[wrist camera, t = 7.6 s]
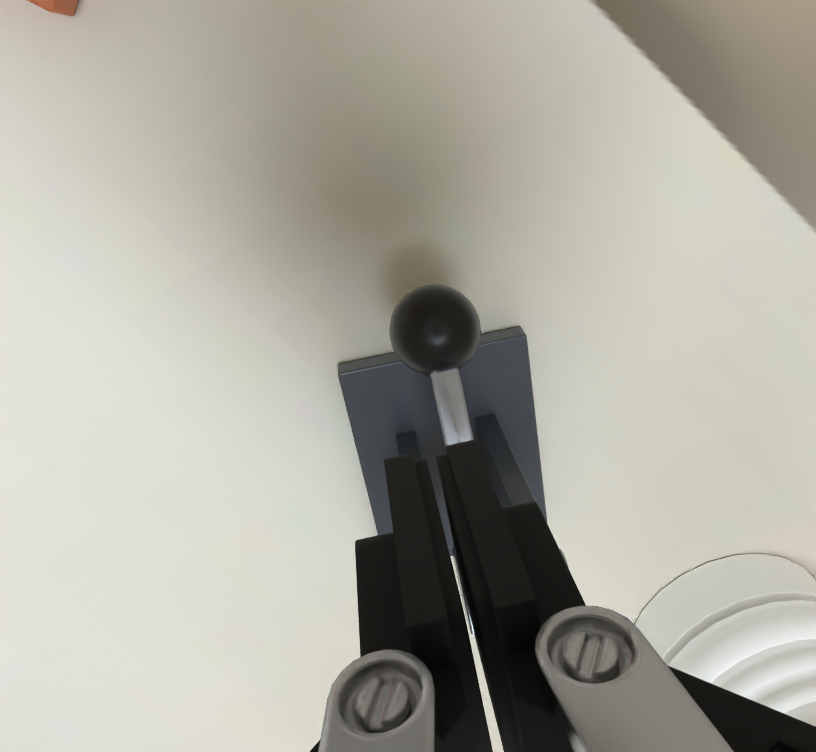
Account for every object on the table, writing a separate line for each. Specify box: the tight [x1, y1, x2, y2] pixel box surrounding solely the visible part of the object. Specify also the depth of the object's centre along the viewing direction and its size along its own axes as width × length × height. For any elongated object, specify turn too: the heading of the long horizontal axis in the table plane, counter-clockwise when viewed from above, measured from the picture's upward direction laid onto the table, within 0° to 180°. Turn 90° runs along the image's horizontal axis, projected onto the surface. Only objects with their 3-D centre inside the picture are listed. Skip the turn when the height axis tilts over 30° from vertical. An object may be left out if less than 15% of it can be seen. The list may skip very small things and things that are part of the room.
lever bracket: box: [338, 327, 568, 567], centre depth 29 cm, size 12×9×12 cm
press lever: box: [389, 285, 481, 634], centre depth 26 cm, size 13×4×4 cm
